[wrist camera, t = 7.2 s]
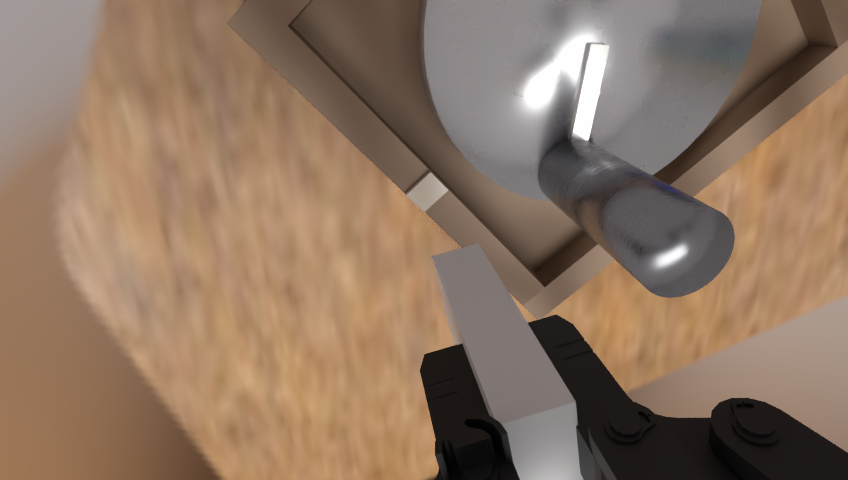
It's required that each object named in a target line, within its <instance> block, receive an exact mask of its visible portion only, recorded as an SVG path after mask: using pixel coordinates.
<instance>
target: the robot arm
mask: <svg viewBox="0 0 848 480" xmlns="http://www.w3.org/2000/svg"><path fill="white" fill-rule="evenodd" d="M432 260H433V264H434V268H435V272H436V276H437V280H438V284H439V288H440V292H441V296H442V300H443V304H444V308H445V312H446V316H447V320H448V324H449V327H450V330H451V333H452V336H453V339H454V341H455V344H456V345H455V346H451V347H448V348H445V349H441V350H438V351H434V352H431V353H427V354H425V355H424V358H423V362H422V365H421V369H420V373H421V377H422V381H423V386H424V390H425V395H426V399H427V403H428V408H429V412H430V416H431V421H432V425H433V429H434V434H435V438H436V441H435V456H436V459H437V462H438V465H439V472H438V475H437V477H436V479H435V480H583V479H584V480H848V453H847V452H846V451H844V450H842V449H841V448H839V447H838V446H836V445H835V444H833V443H832V442H830V441H828V440H827V439H825V438H824V437H822V436H821V435H819V434H818V433H816V432H814V431H813V430H811V429H810V428H808V427H807V426H805V425H803V424H802V423H800V422H799V421H797V420H796V419H794V418H792V417H791V416H790V415H788V414H786V413H785V412H783V411H782V410H780V409H778V408H776V407H774V406H772V405H770V404H768V403H766V402H762V401H758V400H754V399H749V398H731V399H728V400H725V401H723V402H720V403H719V404H718V405H717V406H716V407H715V408H714V409H713V410H712V414H711V418H672V417H664V416H660V415H657V414H654V413H653V412H652V411H651V410H649V409H648V408H647V407H644V406H642V405H640V404H638V403H636V402H633V401H632V400H631V399H630V398H629V397H628V396H627V395H626V393H625V392H624V391H623V389H622V388H621V387H620V385H619V384H618V383H617V382H616V380H615V379H614V378H613V376H612V375H611V374H610V372H609V371H608V370H607V368H606V367H605V366H604V364H603V363H602V362H601V360H600V359H599V358H598V356H597V355H596V354H595V353H593V350H592V349H591V347H590V346H589V345H588V343H587V342H586V341H584V338H583V337H582V335H581V334H580V333H579V331H578V330H577V329H576V328H575V326H574V325H573V324H572V323H570V322H568V321H566V320H565V319H563V318H561V317H560V316H558V315H553V316H550V317H546V318H543V319H540V320H536V321H533V322H529V323H527V322H526V320H525V318H524V317H523V315H522V313H521V312H520V310H519V309H518V307H517V305H516V304H515V302H514V300H513V299H512V297H511V295H510V294H509V292H508V291H507V289H506V287H505V286H504V284H503V282H502V281H501V279H500V278H499V276H498V274H497V273H496V271H495V269H494V268H493V266H492V265H491V263H490V261H489V260H488V258H487V256H486V255H485V253H484V252H483V250H482V248H481V247H480V245H479V243H478V244H474V245H471V246H467V247H463V248H460V249H456V250H453V251H449V252H446V253H442V254H439V255H435V256H432Z"/></svg>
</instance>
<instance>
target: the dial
mask: <svg viewBox="0 0 848 480" xmlns="http://www.w3.org/2000/svg"><path fill="white" fill-rule="evenodd" d="M761 2H762V0H420V4H419V13H418V21H417V51H418V59H419V67H420V74H421V78H422V81H423V85H424V89H425V93H426V96H427V98H428V101H429V103H430V106H431V108H432V111H433V113H434V115H435V117H436V119H437V120H438V122H439V124H440V126H441V128H442V129H443V131H444V132H445V133H446V135H447V136H448V137H449V139H450V140H451V141H452V143H453V144H454V145H455V147H456V148H457V149H458V150H459V151H460V153H461V154H462V155H463V156H464V157H465V158H466V159H467V160H468V161H469V162H470V163H471V164H472V165H473V166H474V167H475V168H476V169H477V170H478V171H479V172H480V173H481V174H483V175H484V176H485V177H487V178H488V179H489V180H491V181H492V182H494V183H495V184H497V185H499V186H501V187H503V188H505V189H507V190H508V191H510V192H513V193H516V194H519V195H522V196H524V197H527V198H532V199H537V200H541V201H548V202H553V203H554V204H555V205H556V206H557V207H558V208H559V209H560V210H562V211H563V212H564V213H565V214H566V215H567V216H568V217H569V218H570V219H571V220H572V221H574V222H575V223H576V224H577V225H578V226H579V227H580V228H581V229H582V230H583V231H584V232H586V233H587V234H588V235H589V236H590V237H591V238H592V239H593V240H594V241H595V242H596V243H598V244H599V245H600V246H601V247H602V248H603V249H604V250H605V251H606V252H607V253H608V254H610V255H611V256H612V257H613V258H614V259H615V260H616V261H617V262H618V263H619V264H620V265H622V266H623V267H624V268H625V269H626V270H627V271H628V272H629V273H630V274H631V275H632V276H634V277H635V278H636V279H637V280H638V281H639V282H640V283H641V284H642V285H643V286H644V287H646V288H647V289H648V290H649V291H650V292H652V293H653V294H655V295H658V296H661V297H671V298H672V297H680V296H684V295H687V294H690V293H693V292H695V291H697V290H699V289H701V288H702V287H704V286H705V285H707V284H708V283H709V282H710V281H712V280H713V279H714V278H715V277H716V276H717V275H718V274H719V273H720V271H721V270H722V269H723V268H724V266H725V265H726V263H727V261H728V260H729V257H730V255H731V253H732V250H733V246H734V238H735V236H734V229H733V226H732V224H731V222H730V220H729V219H728V218H727V217H726V216H725V215H724V214H723V213H721V212H719V211H717V210H716V209H714V208H712V207H710V206H708V205H706V204H704V203H702V202H701V201H699V200H697V199H695V198H693V197H691V196H689V195H688V194H686V193H684V192H682V191H680V190H678V189H676V188H675V187H673V186H671V185H669V184H667V183H665V182H663V181H661V180H660V179H658V178H656V177H654V176H652V175H654V174H655V173H657V172H658V171H659V170H661V169H662V168H664V167H665V166H666V165H668V164H669V163H671V162H672V161H673V160H674V159H675V158H676V157H678V156H679V155H680V154H681V153H682V152H683V151H684V150H686V149H687V148H688V147H689V146H690V145H691V144H692V143H693V142H694V140H695V139H696V138H697V137H698V136H699V135H700V134H701V133H702V132H703V131H704V130H705V128H706V127H707V126H708V124H709V123H710V122H711V121H712V119H713V118H714V117H715V115H716V114H717V113H718V111H719V110H720V108H721V106H722V105H723V103H724V102H725V100H726V99H727V97H728V95H729V94H730V92H731V90H732V88H733V86H734V84H735V82H736V81H737V79H738V77H739V75H740V73H741V71H742V68H743V66H744V63H745V61H746V58H747V56H748V53H749V51H750V48H751V44H752V41H753V37H754V34H755V31H756V27H757V23H758V18H759V12H760V7H761Z"/></svg>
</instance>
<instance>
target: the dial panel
mask: <svg viewBox="0 0 848 480" xmlns="http://www.w3.org/2000/svg"><path fill="white" fill-rule="evenodd" d="M419 4H420V0H246V2H245V3H244V4H243V5H242V6H241V7H240V9H239V10H238V11H237V12H236V13H235V15H234V16H233V17H232V18H231V19H230V20H229V22H228V23H227V24H228V25H229V26H230V27H231V28H232V29H233V30H234V31H235V32H236V33H237V34H238V35H240V36H241V37H242V38H243V39H244V40H245V41H246V42H247V43H248V44H249V45H250V46H251V47H252V48H253V49H254V50H255V51H256V52H257V53H258V54H259V55H261V56H262V57H263V58H264V59H265V60H266V61H267V62H268V63H269V64H270V65H271V66H272V67H273V68H274V69H275V70H276V71H277V72H278V73H279V74H280V75H281V76H283V77H284V78H285V79H286V80H287V81H288V82H289V83H290V84H291V85H292V86H293V87H294V88H295V89H296V90H297V91H298V92H299V93H300V94H301V95H302V96H304V97H305V98H306V99H307V100H308V101H309V102H310V103H311V104H312V105H313V106H314V107H315V108H316V109H317V110H318V111H319V112H320V113H321V114H322V115H323V116H325V117H326V118H327V119H328V120H329V121H330V122H331V123H332V124H333V125H334V126H335V127H336V128H337V129H338V130H339V131H340V132H341V133H342V134H343V135H344V136H345V137H347V138H348V139H349V140H350V141H351V142H352V143H353V144H354V145H355V146H356V147H357V148H358V149H359V150H360V151H361V152H362V153H363V154H364V155H365V156H366V157H368V158H369V159H370V160H371V161H372V162H373V163H374V164H375V165H376V166H377V167H378V168H379V169H380V170H381V171H382V172H383V173H384V174H385V175H386V176H387V177H389V178H390V179H391V180H392V181H393V182H394V183H395V184H396V185H397V186H398V187H399V188H400V189H401V190H402V191H403V192H404V193H405V194H406V196H407V197H408V198H409V199H410V200H411V201H412V202H413V203H414V204H416V205H417V206H418V207H419V208H420V209H421V210H422V211H423V212H425V213H426V214H427V215H428V216H429V217H430V218H432V219H433V220H434V221H435V222H436V223H437V224H438V225H439V226H440V227H441V228H442V229H443V230H444V231H445V232H446V233H447V234H448V235H449V236H450V237H451V238H453V239H454V240H455V241H456V242H457V243H458V244H459V245H460V246H461V247H462V248H463V247H467V246H471V245H474V244H478V243H479V245H480V247H481V248H482V250H483V252H484V253H485V255H486V256H487V258H488V260H489V261H490V263H491V265H492V266H493V268H494V269H495V271H496V273H497V274H498V276H499V278H500V279H501V281H502V282H503V284H504V286H505V287H506V289H507V291H508V292H509V293H510V294H511V295H512V296H513V297H514V298H515V299H517V300H518V301H519V302H520V303H521V304H522V305H523V306H524V307H525V308H526V309H527V310H528V311H529V312H530V313H531V314H532V315H533V316H534V317H535V318H536V319H538V320H540V319H541V318H543V317H544V316H545V315H546V314H548V313H549V312H550V311H551V310H553V309H554V308H555V307H556V306H558V305H559V304H560V303H561V302H563V301H564V300H565V299H566V298H568V297H569V296H570V295H571V294H573V293H574V292H575V291H576V290H578V289H579V288H580V287H581V286H583V285H584V284H585V283H586V282H588V281H589V280H590V279H591V278H593V277H594V276H595V275H596V274H598V273H599V272H600V271H601V270H603V269H604V268H605V267H606V266H608V265H609V264H610V263H611V262H613V261H614V260H615V259H614V258H613V257H612V256H611V255H610V254H608V253H607V252H606V251H605V250H604V249H603V248H602V247H601V246H600V245H599V244H598V243H596V242H595V241H594V240H593V239H592V238H591V237H590V236H589V235H588V234H587V233H586V232H584V231H583V230H582V229H581V228H580V227H579V226H578V225H577V224H576V223H575V222H574V221H572V220H571V219H570V218H569V217H568V216H567V215H566V214H565V213H564V212H563V211H562V210H560V209H559V208H558V207H557V206H556V205H555V204H554V203H553V202H548V201H541V200H537V199H532V198H527V197H524V196H522V195H519V194H516V193H513V192H510V191H508V190H507V189H505V188H503V187H501V186H499V185H497V184H495V183H494V182H492V181H491V180H489V179H488V178H487V177H485V176H484V175H483V174H481V173H480V172H479V171H478V170H477V169H476V168H475V167H474V166H473V165H472V164H471V163H470V162H469V161H468V160H467V159H466V158H465V157H464V156H463V155H462V154H461V153H460V151H459V150H458V149H457V148H456V147H455V145H454V144H453V143H452V141H451V140H450V139H449V137H448V136H447V135H446V133H445V132H444V131H443V129H442V128H441V126H440V124H439V122H438V120H437V119H436V117H435V115H434V113H433V111H432V108H431V106H430V103H429V101H428V98H427V96H426V93H425V89H424V85H423V81H422V78H421V74H420V67H419V59H418V51H417V21H418V13H419ZM847 73H848V0H762V2H761V7H760V12H759V18H758V23H757V27H756V31H755V34H754V37H753V41H752V44H751V48H750V51H749V53H748V56H747V58H746V61H745V63H744V66H743V68H742V71H741V73H740V75H739V77H738V79H737V81H736V82H735V84H734V86H733V88H732V90H731V92H730V94H729V95H728V97H727V99H726V100H725V102H724V103H723V105H722V106H721V108H720V110H719V111H718V113H717V114H716V115H715V117H714V118H713V119H712V121H711V122H710V123H709V124H708V126H707V127H706V128H705V130H704V131H703V132H702V133H701V134H700V135H699V136H698V137H697V138H696V139H695V140H694V142H693V143H692V144H691V145H690V146H689V147H688V148H687V149H686V150H684V151H683V152H682V153H681V154H680V155H679V156H678V157H676V158H675V159H674V160H673V161H672V162H671V163H669V164H668V165H666V166H665V167H664V168H662V169H661V170H659V171H658V172H657V173H655V174H654V175H652V176H654V177H656V178H658V179H660V180H661V181H663V182H665V183H667V184H669V185H671V186H673V187H675V188H676V189H678V190H680V191H682V192H684V193H686V194H688V195H689V196H691V197H694V196H695V195H696V194H697V193H699V192H700V191H701V190H702V189H704V188H705V187H706V186H707V185H709V184H710V183H711V182H712V181H714V180H715V179H716V178H717V177H719V176H720V175H721V174H722V173H724V172H725V171H726V170H727V169H729V168H730V167H731V166H732V165H734V164H735V163H736V162H737V161H739V160H740V159H741V158H742V157H744V156H745V155H746V154H747V153H749V152H750V151H751V150H752V149H754V148H755V147H756V146H757V145H759V144H760V143H761V142H762V141H764V140H765V139H766V138H767V137H769V136H770V135H771V134H772V133H774V132H775V131H776V130H777V129H779V128H780V127H781V126H782V125H784V124H785V123H786V122H787V121H789V120H790V119H791V118H792V117H794V116H795V115H796V114H797V113H799V112H800V111H801V110H802V109H804V108H805V107H806V106H807V105H809V104H810V103H811V102H812V101H814V100H815V99H816V98H817V97H819V96H820V95H821V94H822V93H823V92H825V91H826V90H827V89H828V88H830V87H831V86H832V85H833V84H835V83H836V82H837V81H838V80H840V79H841V78H842V77H843V76H845V75H846V74H847Z"/></svg>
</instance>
